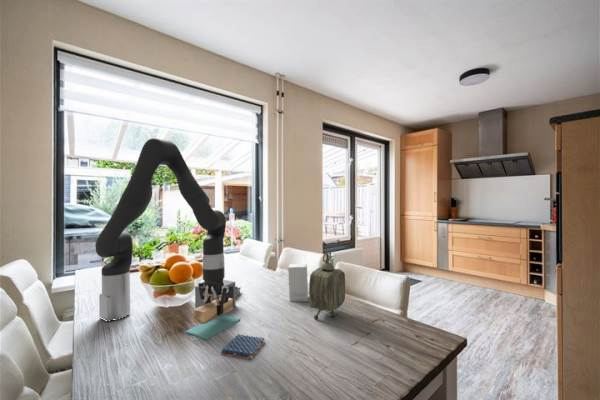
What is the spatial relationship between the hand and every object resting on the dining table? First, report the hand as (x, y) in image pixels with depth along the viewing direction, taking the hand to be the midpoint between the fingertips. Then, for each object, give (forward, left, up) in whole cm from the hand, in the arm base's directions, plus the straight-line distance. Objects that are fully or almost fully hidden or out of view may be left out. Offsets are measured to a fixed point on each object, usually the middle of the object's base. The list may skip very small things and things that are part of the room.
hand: (214, 313), depth 97 cm
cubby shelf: (+12, +12, -5) cm, 18 cm away
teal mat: (0, 0, -5) cm, 5 cm away
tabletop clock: (+27, -33, -5) cm, 43 cm away
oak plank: (0, 0, -1) cm, 1 cm away
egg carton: (+26, +17, -5) cm, 32 cm away
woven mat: (-6, -19, -5) cm, 21 cm away
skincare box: (+37, -14, -5) cm, 40 cm away
